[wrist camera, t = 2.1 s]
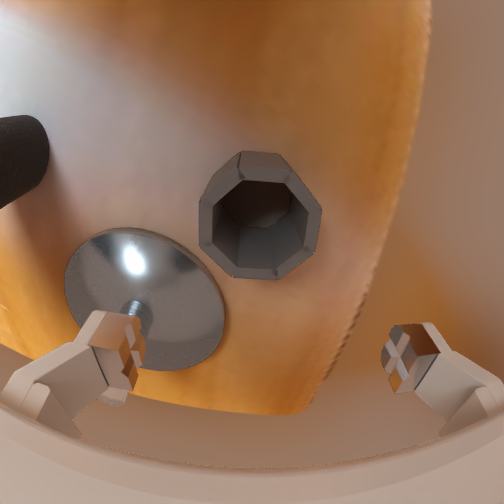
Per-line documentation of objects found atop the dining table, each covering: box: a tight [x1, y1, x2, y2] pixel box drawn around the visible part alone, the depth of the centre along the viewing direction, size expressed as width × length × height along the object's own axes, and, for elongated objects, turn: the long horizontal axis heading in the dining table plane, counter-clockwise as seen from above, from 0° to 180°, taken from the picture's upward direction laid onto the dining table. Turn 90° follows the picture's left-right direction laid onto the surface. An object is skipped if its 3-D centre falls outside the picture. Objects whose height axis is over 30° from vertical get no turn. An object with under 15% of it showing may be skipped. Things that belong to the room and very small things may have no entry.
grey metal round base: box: [64, 228, 225, 406], centre depth 20 cm, size 16×16×10 cm
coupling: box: [199, 151, 322, 280], centre depth 18 cm, size 6×6×6 cm
